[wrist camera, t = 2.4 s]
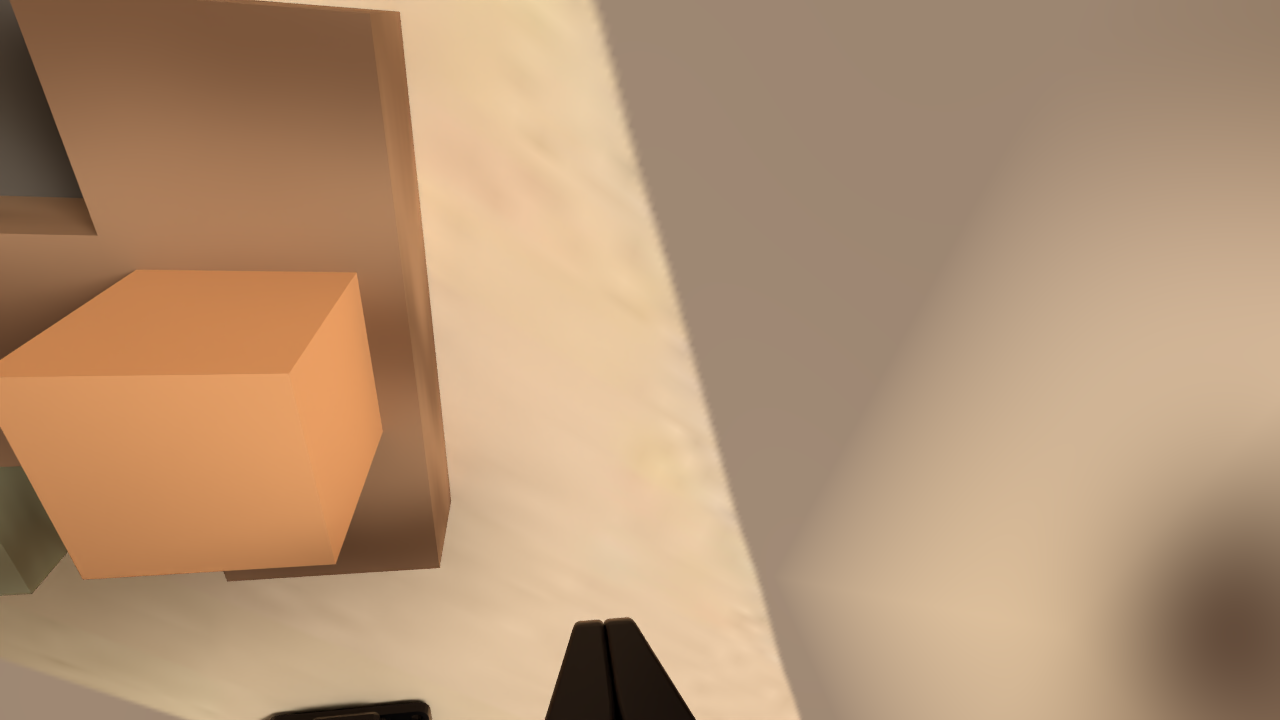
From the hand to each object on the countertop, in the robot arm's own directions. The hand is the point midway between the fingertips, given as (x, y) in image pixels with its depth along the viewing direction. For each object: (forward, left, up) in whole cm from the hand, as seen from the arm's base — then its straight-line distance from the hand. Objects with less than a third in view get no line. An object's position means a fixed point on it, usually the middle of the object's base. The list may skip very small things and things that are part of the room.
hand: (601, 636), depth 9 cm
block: (0, +7, -8) cm, 11 cm away
